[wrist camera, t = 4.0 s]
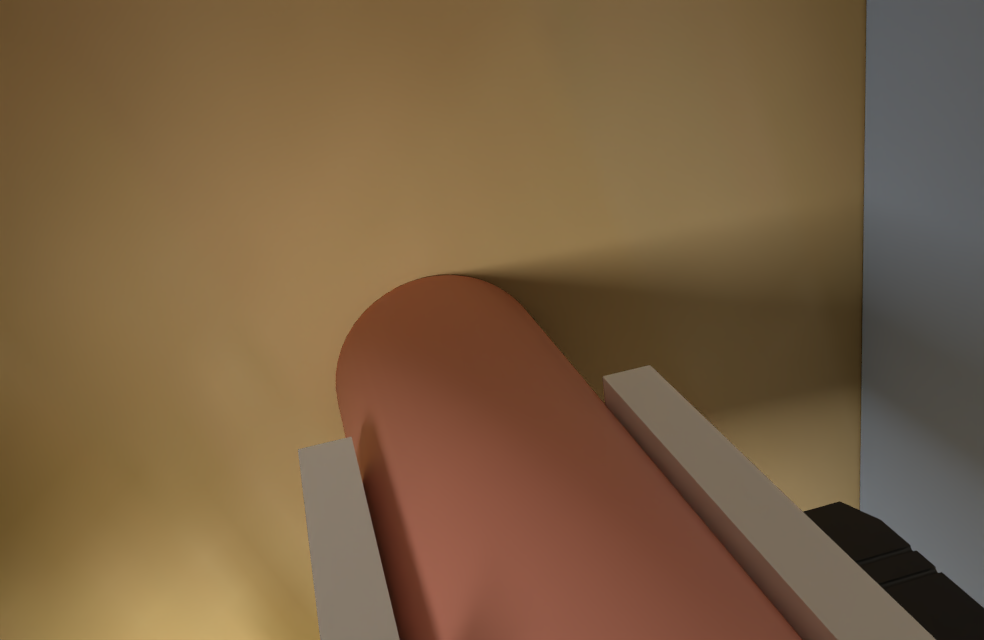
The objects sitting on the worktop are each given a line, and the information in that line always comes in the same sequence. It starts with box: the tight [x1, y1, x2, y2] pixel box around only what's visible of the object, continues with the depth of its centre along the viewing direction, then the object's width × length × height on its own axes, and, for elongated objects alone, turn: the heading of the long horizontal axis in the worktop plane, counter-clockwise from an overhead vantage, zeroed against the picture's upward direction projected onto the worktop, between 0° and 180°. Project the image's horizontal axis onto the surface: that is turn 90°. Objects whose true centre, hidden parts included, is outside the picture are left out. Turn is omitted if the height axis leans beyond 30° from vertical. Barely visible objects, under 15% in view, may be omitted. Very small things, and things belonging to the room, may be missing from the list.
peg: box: [336, 275, 803, 640], centre depth 11 cm, size 4×4×14 cm
